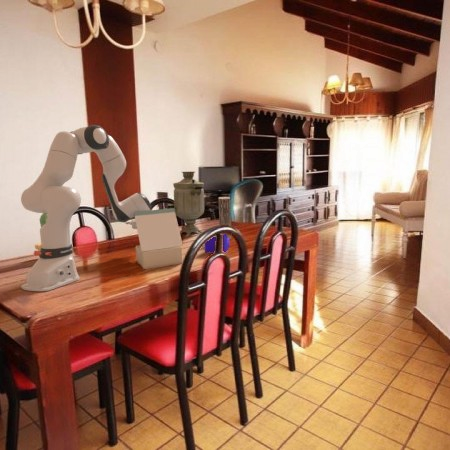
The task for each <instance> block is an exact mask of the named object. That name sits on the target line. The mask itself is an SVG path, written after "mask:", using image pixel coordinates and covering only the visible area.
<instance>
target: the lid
mask: <svg viewBox="0 0 450 450" xmlns="http://www.w3.org/2000/svg"><path fill="white" fill-rule="evenodd" d="M134 219H135V221H136V226H137V229H136V230H137V236H138V241H139V245H140V246H141V251H142V252H144V251H151V250H158V249H165V248H172V247H179V246H180V247H183V242H182V241H183V240H182V237H181V233H180V227H179V224H178V219H177V215H176V214H175V209H174V207H171V208H170V207H169V208H161V209H151V210H149V211H138V212H134Z"/></svg>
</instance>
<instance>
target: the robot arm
mask: <svg viewBox="0 0 450 450" xmlns="http://www.w3.org/2000/svg"><path fill="white" fill-rule="evenodd" d="M92 152H94V154H96V156H97V159H99V162H100V163H101V166H102V171H103V172H102V174H101V180H102V181H101V182H102V184H103V187H104V191H105V193H106V196H107V199H108V201H109V204H110V208H111V211H112V212H111V213H112V215H113V218H114V219H115V220H116V221H117V222H119V223H127V222H128V221H129V220H131V221H130V222H128V224H129V225H130V226H131V228H132V229H133V230H137V226H136V221H135V216H134V212H138V211H149V210H152V204H151V202H150V200H149V198H148V197H147V196H146V195H145V194H143V193H141V192H136V193H134V194H132V195H130V196H129V197H127V198H125V199H124V200H122V201H119V199H118V195H117V193H116V190H115V185H116V182H117V180H118V179H119V178H121V176H122V175H123V174H124V172H125V170H126V168H127V160H126V157H125V155H124V153H123V152H122V150H121V148H120V147H119V145H118V143H117V141H115V139H114V138H113V137H112V136H111V135H109V134H108V133H107V132H106V130H105V129H104V128H103V127H101V126H100V125H96V124H91V125H88V126H85V127H84V126H83V127H80V128H77V129H75V130H73V131H70V132H69V131H59V132H58V133H56V134H55V136H54V138H53V140H52V142H51V144H50V148H49V151H48V153H47V157H46V160H45V162H44V167H43V169H42V170H41V173H40V174H39V176H38V177H37V178H36V180H35V181H34V182H33V184H31V185H29V187H28V188H26V189H24V190H23V191H22V193H21V196H20V202H21V204H22V207H23V208H24V209H25V210H27V211H29V212H32V213H37V214H43V213H48V218H47V222H46V224H44V225H43V226H42V227H41V226H40V229H39V234H40V235H39V236H40V243H41V245H42V247H41V250H40V251H38V250H34V251H33V255H34V256H35V257H36V256H38V257H39V258H38V259H37V261H36V262H35V263H34V264H33V265H32V266H31V268H30V269H29V270H28V272H27V277H26V278H27V280H26V283H23V284H21V289H22V290H24V291H29V292H48V291H52V290H54V289H57V288H60V287H64V286H65V285H68V284H71V283H74V282H76V281H79V280H80V275H79V273H78V270H77V268H76V262H75V260H74V255H73V252H74V249H73V244H72V243H71V241H72V240H71V233H70V231H71V230H70V225H71V220H72V218H73V215H74V213H75V212H76V211H78V210H79V208H80V207H81V202H82V197H81V194H80V193H79V191H78V190H77V189H75V188H73V187H69V186H64V184H65V183H66V182H68V181H69V180H71V179H72V177H73V175H74V171H75V167H76V163H77V160H78V155H83V154H88V153H92ZM132 218H134V219H132Z"/></svg>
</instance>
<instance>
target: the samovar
mask: <svg viewBox="0 0 450 450" xmlns="http://www.w3.org/2000/svg"><path fill="white" fill-rule="evenodd" d="M181 173H182V177H183V178H182V179H181V180H180V181H178V182H174V183H172V185H173V189H174V190H173V203H168V204H167V206H169V209H170V208H172V206H174V207H173V208H174V209H175V214H176V217H178V219H179V218H180V219H181V220H183V221H184V224H185V225H186V226H184V227H183V228H182V229H181V231H180V230H179V231H180V234H181V233H186V236H191V234H192V233H194V232H198V233H201V232H202V233H203V231H202V230H200V229H199V227H197V225H195V223H196V220H197V219H198V218H200V217H201V216H202V215H203V214H204V213H205V191H204V187H205V186H204V185H205V183H204V182H201V181H197V180H196V179H194V175H195V173H196V171H181Z"/></svg>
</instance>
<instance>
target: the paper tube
mask: <svg viewBox="0 0 450 450" xmlns="http://www.w3.org/2000/svg"><path fill="white" fill-rule="evenodd" d="M231 214H232V213H231V197H230V196H219V197H218V217H219V219H218V220H219V226H220V225H229V226H231V227H232V221H231V220H232V219H231ZM227 238H229V240H231V239H232V235H231V236H230V235H227Z"/></svg>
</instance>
